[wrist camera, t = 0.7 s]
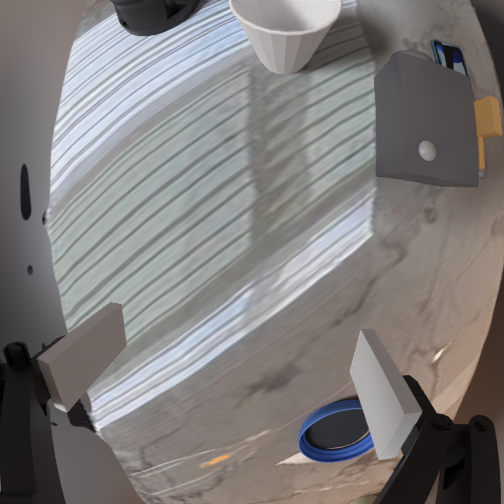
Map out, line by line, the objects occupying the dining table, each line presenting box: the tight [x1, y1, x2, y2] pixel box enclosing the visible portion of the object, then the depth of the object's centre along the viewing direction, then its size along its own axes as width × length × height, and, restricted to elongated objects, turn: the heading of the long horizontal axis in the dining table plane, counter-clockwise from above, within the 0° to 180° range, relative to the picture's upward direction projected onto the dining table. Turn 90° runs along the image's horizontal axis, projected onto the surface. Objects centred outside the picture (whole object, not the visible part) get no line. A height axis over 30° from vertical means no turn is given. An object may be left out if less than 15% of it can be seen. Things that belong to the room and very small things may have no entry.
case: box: [374, 50, 478, 187], centre depth 30 cm, size 18×12×11 cm, turn 178°
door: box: [474, 95, 503, 178], centre depth 28 cm, size 11×2×14 cm, turn 178°
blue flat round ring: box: [298, 400, 374, 463], centre depth 46 cm, size 18×18×4 cm
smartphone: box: [431, 39, 474, 101], centre depth 32 cm, size 7×1×15 cm
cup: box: [229, 0, 342, 75], centre depth 27 cm, size 12×12×16 cm
